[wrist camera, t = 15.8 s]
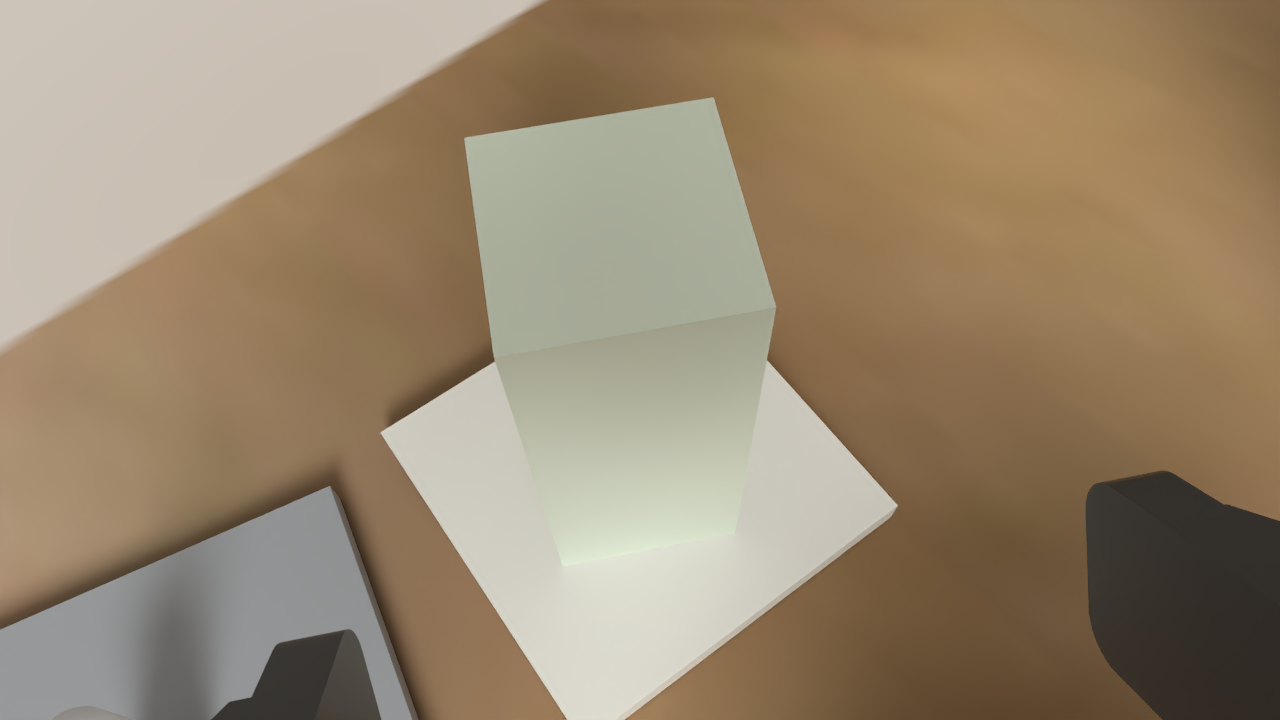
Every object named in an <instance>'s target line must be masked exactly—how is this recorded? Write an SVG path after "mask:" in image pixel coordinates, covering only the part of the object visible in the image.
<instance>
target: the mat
mask: <svg viewBox="0 0 1280 720" xmlns="http://www.w3.org/2000/svg"><path fill="white" fill-rule="evenodd" d="M380 433H381V435H382V436H383V438H384V439H385V441H386V442H387V444H388V446H389V447H390V449H391V450H392V452H393V453H394V455H395V456H396V458H397V459H398V461H399V462H400V464H401V466H402V467H403V469H404V470H405V472H406V473H407V475H408V476H409V478H410V479H411V481H412V482H413V484H414V485H415V487H416V489H417V490H418V492H419V493H420V495H421V496H422V498H423V499H424V501H425V502H426V504H427V505H428V507H429V509H430V510H431V512H432V513H433V515H434V516H435V518H436V519H437V521H438V522H439V524H440V525H441V527H442V528H443V530H444V532H445V533H446V535H447V536H448V538H449V539H450V541H451V542H452V544H453V545H454V547H455V548H456V550H457V551H458V553H459V555H460V556H461V558H462V559H463V561H464V562H465V564H466V565H467V567H468V568H469V570H470V571H471V573H472V574H473V576H474V578H475V579H476V581H477V582H478V584H479V585H480V587H481V588H482V590H483V591H484V593H485V594H486V596H487V597H488V599H489V601H490V602H491V604H492V605H493V607H494V608H495V610H496V611H497V613H498V614H499V616H500V617H501V619H502V620H503V622H504V624H505V625H506V627H507V628H508V630H509V631H510V633H511V634H512V636H513V637H514V639H515V640H516V642H517V643H518V645H519V647H520V648H521V650H522V651H523V653H524V654H525V656H526V657H527V659H528V660H529V662H530V663H531V665H532V667H533V668H534V670H535V671H536V673H537V674H538V676H539V677H540V679H541V680H542V682H543V683H544V685H545V686H546V688H547V690H548V691H549V693H550V694H551V696H552V697H553V699H554V700H555V702H556V703H557V705H558V706H559V708H560V709H561V711H562V713H563V714H564V716H565V717H566V719H567V720H625V719H626V718H627V717H629V716H630V715H631V714H633V713H634V712H635V711H637V710H638V709H639V708H640V707H642V706H643V705H644V704H646V703H647V702H648V701H650V700H651V699H652V698H654V697H655V696H656V695H658V694H659V693H660V692H662V691H663V690H664V689H665V688H667V687H668V686H669V685H671V684H672V683H673V682H675V681H676V680H677V679H679V678H680V677H681V676H683V675H684V674H685V673H687V672H688V671H689V670H690V669H692V668H693V667H694V666H696V665H697V664H698V663H700V662H701V661H702V660H704V659H705V658H706V657H708V656H709V655H710V654H712V653H713V652H714V651H715V650H717V649H718V648H719V647H721V646H722V645H723V644H725V643H726V642H727V641H729V640H730V639H731V638H733V637H734V636H735V635H737V634H738V633H739V632H740V631H742V630H743V629H744V628H746V627H747V626H748V625H750V624H751V623H752V622H754V621H755V620H756V619H758V618H759V617H760V616H762V615H763V614H764V613H765V612H767V611H768V610H769V609H771V608H772V607H773V606H775V605H776V604H777V603H779V602H780V601H781V600H783V599H784V598H785V597H786V596H788V595H789V594H790V593H792V592H793V591H794V590H796V589H797V588H798V587H800V586H801V585H802V584H804V583H805V582H806V581H808V580H809V579H810V578H811V577H813V576H814V575H815V574H817V573H818V572H819V571H821V570H822V569H823V568H825V567H826V566H827V565H829V564H830V563H831V562H833V561H834V560H835V559H836V558H838V557H839V556H840V555H842V554H843V553H844V552H846V551H847V550H848V549H850V548H851V547H852V546H854V545H855V544H856V543H858V542H859V541H860V540H861V539H863V538H864V537H865V536H867V535H868V534H869V533H871V532H872V531H873V530H875V529H876V528H877V527H879V526H880V525H881V524H883V523H884V522H885V521H886V520H888V519H889V518H890V517H891V516H892V515H893V513H894V511H895V509H896V508H897V506H898V505H897V504H896V503H895V502H894V501H893V500H892V499H891V497H890V496H889V495H888V494H887V493H886V492H885V491H884V490H883V488H882V487H881V486H880V485H879V484H878V483H877V482H876V481H875V480H874V478H873V477H872V476H871V475H870V474H869V473H868V472H867V471H866V470H865V468H864V467H863V466H862V465H861V464H860V463H859V462H858V461H857V460H856V458H855V457H854V456H853V455H852V454H851V453H850V452H849V451H848V450H847V448H846V447H845V446H844V445H843V444H842V443H841V442H840V441H839V440H838V438H837V437H836V436H835V435H834V434H833V433H832V432H831V431H830V430H829V428H828V427H827V426H826V425H825V424H824V423H823V422H822V421H821V420H820V418H819V417H818V416H817V415H816V414H815V413H814V412H813V411H812V410H811V408H810V407H809V406H808V405H807V404H806V403H805V402H804V401H803V400H802V398H801V397H800V396H799V395H798V394H797V393H796V392H795V391H794V390H793V388H792V387H791V386H790V385H789V384H788V383H787V382H786V381H785V380H784V378H783V377H782V376H781V375H780V374H779V373H778V372H777V371H776V370H775V368H774V367H773V366H772V365H771V364H770V363H769V362H768V361H767V362H766V367H765V373H764V378H763V384H762V389H761V395H760V400H759V406H758V411H757V417H756V422H755V428H754V433H753V439H752V444H751V450H750V455H749V461H748V466H747V471H746V477H745V482H744V488H743V493H742V499H741V504H740V510H739V515H738V521H737V526H736V532H735V533H733V534H728V535H723V536H717V537H712V538H707V539H702V540H697V541H691V542H686V543H681V544H676V545H671V546H665V547H660V548H655V549H650V550H645V551H639V552H634V553H629V554H624V555H619V556H613V557H608V558H603V559H598V560H593V561H587V562H582V563H577V564H572V565H567V566H562V563H561V559H560V556H559V553H558V550H557V547H556V544H555V541H554V538H553V535H552V532H551V529H550V526H549V523H548V520H547V517H546V514H545V511H544V508H543V505H542V502H541V499H540V496H539V493H538V490H537V487H536V484H535V481H534V478H533V475H532V472H531V469H530V466H529V463H528V460H527V457H526V453H525V450H524V447H523V444H522V441H521V438H520V435H519V432H518V429H517V426H516V423H515V420H514V417H513V414H512V411H511V408H510V405H509V402H508V399H507V396H506V393H505V390H504V387H503V384H502V381H501V378H500V375H499V372H498V369H497V366H496V363H495V362H493V363H492V364H490V365H488V366H487V367H485V368H483V369H482V370H480V371H479V372H477V373H475V374H474V375H472V376H471V377H469V378H467V379H466V380H464V381H463V382H461V383H459V384H458V385H456V386H454V387H453V388H451V389H450V390H448V391H446V392H445V393H443V394H442V395H440V396H438V397H437V398H435V399H433V400H432V401H430V402H429V403H427V404H425V405H424V406H422V407H421V408H419V409H417V410H416V411H414V412H412V413H411V414H409V415H408V416H406V417H404V418H403V419H401V420H400V421H398V422H396V423H395V424H393V425H391V426H390V427H388V428H387V429H385V430H383V431H382V432H380Z"/></svg>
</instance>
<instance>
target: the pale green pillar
mask: <svg viewBox="0 0 1280 720" xmlns="http://www.w3.org/2000/svg"><path fill="white" fill-rule="evenodd" d="M464 140H465V148H466V155H467V162H468V170H469V177H470V185H471V192H472V199H473V207H474V214H475V222H476V229H477V237H478V244H479V251H480V259H481V266H482V274H483V281H484V288H485V296H486V303H487V311H488V318H489V326H490V333H491V340H492V348H493V355H494V360H495V363H496V366H497V369H498V372H499V375H500V378H501V381H502V384H503V387H504V390H505V393H506V396H507V399H508V402H509V405H510V408H511V411H512V414H513V417H514V420H515V423H516V426H517V429H518V432H519V435H520V438H521V441H522V444H523V447H524V450H525V453H526V457H527V460H528V463H529V466H530V469H531V472H532V475H533V478H534V481H535V484H536V487H537V490H538V493H539V496H540V499H541V502H542V505H543V508H544V511H545V514H546V517H547V520H548V523H549V526H550V529H551V532H552V535H553V538H554V541H555V544H556V547H557V550H558V553H559V556H560V559H561V563H562V566H567V565H572V564H577V563H582V562H587V561H593V560H598V559H603V558H608V557H613V556H619V555H624V554H629V553H634V552H639V551H645V550H650V549H655V548H660V547H665V546H671V545H676V544H681V543H686V542H691V541H697V540H702V539H707V538H712V537H717V536H723V535H728V534H733V533H735V532H736V526H737V521H738V515H739V510H740V504H741V499H742V493H743V488H744V482H745V477H746V471H747V466H748V461H749V455H750V450H751V444H752V439H753V433H754V428H755V422H756V417H757V411H758V406H759V400H760V395H761V389H762V384H763V378H764V373H765V367H766V362H767V356H768V351H769V345H770V340H771V334H772V329H773V323H774V318H775V312H776V304H775V301H774V298H773V294H772V291H771V288H770V284H769V281H768V278H767V274H766V271H765V268H764V264H763V261H762V258H761V254H760V251H759V248H758V244H757V241H756V238H755V234H754V231H753V228H752V224H751V221H750V218H749V214H748V211H747V208H746V204H745V201H744V198H743V194H742V191H741V188H740V184H739V181H738V178H737V174H736V171H735V168H734V164H733V161H732V157H731V154H730V151H729V147H728V144H727V141H726V137H725V134H724V131H723V127H722V124H721V121H720V117H719V114H718V111H717V107H716V104H715V101H714V97H712V98H706V99H700V100H694V101H688V102H681V103H675V104H669V105H663V106H657V107H651V108H644V109H638V110H632V111H626V112H620V113H614V114H608V115H601V116H595V117H589V118H583V119H577V120H571V121H564V122H558V123H552V124H546V125H540V126H534V127H528V128H521V129H515V130H509V131H503V132H497V133H491V134H485V135H478V136H472V137H466V138H464Z"/></svg>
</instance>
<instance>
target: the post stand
mask: <svg viewBox="0 0 1280 720" xmlns="http://www.w3.org/2000/svg"><path fill="white" fill-rule="evenodd" d="M346 629H351V630H352V631H353V632H354V633H355V634H356V636H357V638H358V640H359V642H360V645H361V648H362V651H363V655H364V658H365V662H366V665H367V669H368V673H369V676H370V680H371V684H372V687H373V691H374V694H375V698H376V702H377V705H378V709H379V713H380V716H381V720H419V719H418V716H417V713H416V711H415V708H414V705H413V702H412V699H411V697H410V694H409V691H408V688H407V685H406V683H405V680H404V677H403V674H402V671H401V669H400V666H399V663H398V660H397V657H396V654H395V652H394V649H393V646H392V643H391V640H390V638H389V635H388V632H387V629H386V626H385V624H384V621H383V618H382V615H381V612H380V610H379V607H378V604H377V601H376V598H375V596H374V593H373V590H372V587H371V584H370V581H369V579H368V576H367V573H366V570H365V567H364V565H363V562H362V559H361V556H360V553H359V551H358V548H357V545H356V542H355V539H354V537H353V534H352V531H351V528H350V525H349V523H348V520H347V517H346V514H345V511H344V508H343V506H342V503H341V500H340V497H339V496H338V495H337V494H336V493H335V492H334V490H333V489H332V488H331V487H330V486H328V487H326V488H324V489H321V490H319V491H317V492H314V493H312V494H310V495H308V496H305V497H303V498H301V499H298V500H296V501H294V502H292V503H289V504H287V505H285V506H282V507H280V508H278V509H275V510H273V511H271V512H269V513H266V514H264V515H262V516H259V517H257V518H255V519H253V520H250V521H248V522H246V523H243V524H241V525H239V526H237V527H234V528H232V529H230V530H227V531H225V532H223V533H221V534H218V535H216V536H214V537H211V538H209V539H207V540H204V541H202V542H200V543H198V544H195V545H193V546H191V547H188V548H186V549H184V550H182V551H179V552H177V553H175V554H172V555H170V556H168V557H166V558H163V559H161V560H159V561H156V562H154V563H152V564H149V565H147V566H145V567H143V568H140V569H138V570H136V571H133V572H131V573H129V574H127V575H124V576H122V577H120V578H117V579H115V580H113V581H111V582H108V583H106V584H104V585H101V586H99V587H97V588H95V589H92V590H90V591H88V592H85V593H83V594H81V595H78V596H76V597H74V598H72V599H69V600H67V601H65V602H62V603H60V604H58V605H56V606H53V607H51V608H49V609H46V610H44V611H42V612H40V613H37V614H35V615H33V616H30V617H28V618H26V619H23V620H21V621H19V622H17V623H14V624H12V625H10V626H7V627H5V628H3V629H1V630H0V720H211V719H212V718H213V717H214V716H215V715H216V714H217V713H218V712H219V711H220V710H221V709H222V708H223V707H224V706H225V705H226V704H227V703H228V702H230V701H235V700H240V699H245V698H250V697H252V695H253V693H254V690H255V688H256V686H257V684H258V682H259V679H260V677H261V675H262V673H263V671H264V668H265V666H266V664H267V662H268V660H269V657H270V655H271V653H272V651H273V649H274V647H275V646H276V645H277V644H278V643H280V642H285V641H290V640H295V639H300V638H305V637H310V636H315V635H321V634H326V633H331V632H336V631H341V630H346Z"/></svg>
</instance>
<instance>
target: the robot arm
mask: <svg viewBox="0 0 1280 720" xmlns="http://www.w3.org/2000/svg"><path fill="white" fill-rule="evenodd" d="M1086 533H1087V564H1088V595H1089V615H1090V621H1091V625H1092V629H1093V632H1094V635H1095V638H1096V641H1097V643H1098V646H1099V648H1100V650H1101V652H1102V654H1103V655H1104V657H1105V659H1106V660H1107V662H1108V663H1109V665H1110V666H1111V667H1112V668H1113V670H1114V671H1115V672H1116V673H1117V674H1118V675H1119V676H1120V677H1121V678H1122V679H1123V680H1124V681H1125V682H1126V683H1127V684H1128V685H1129V686H1130V687H1131V688H1132V689H1133V690H1134V691H1135V692H1136V693H1137V694H1138V695H1139V696H1140V697H1141V698H1142V699H1143V700H1144V701H1145V702H1146V703H1147V704H1148V705H1149V706H1150V707H1151V708H1152V709H1153V710H1154V711H1155V712H1156V713H1157V714H1158V715H1159V716H1160V717H1161V718H1162V719H1163V720H1280V521H1277V520H1274V519H1271V518H1268V517H1265V516H1261V515H1258V514H1255V513H1252V512H1249V511H1246V510H1243V509H1239V508H1236V507H1233V506H1230V505H1227V504H1226V505H1223V504H1222V503H1220V502H1219V501H1217V500H1215V499H1214V498H1212V497H1210V496H1209V495H1207V494H1205V493H1204V492H1202V491H1201V490H1199V489H1197V488H1196V487H1194V486H1192V485H1191V484H1189V483H1187V482H1186V481H1184V480H1183V479H1181V478H1179V477H1178V476H1176V475H1174V474H1172V473H1170V472H1167V471H1157V472H1152V473H1147V474H1142V475H1137V476H1132V477H1127V478H1122V479H1117V480H1112V481H1106V482H1101V483H1097V484H1095V485H1093V486H1092V487H1091V489H1090V490H1089V492H1088V495H1087V500H1086ZM211 720H381V716H380V713H379V709H378V705H377V702H376V698H375V694H374V691H373V687H372V684H371V680H370V676H369V673H368V669H367V665H366V662H365V658H364V655H363V651H362V648H361V645H360V642H359V640H358V638H357V636H356V634H355V633H354V632H353V631H352V630H351V629H346V630H341V631H336V632H331V633H326V634H321V635H315V636H310V637H305V638H300V639H295V640H290V641H285V642H280V643H278V644H277V645H276V646H275V647H274V649H273V651H272V653H271V655H270V657H269V660H268V662H267V664H266V666H265V668H264V671H263V673H262V675H261V677H260V679H259V682H258V684H257V686H256V688H255V690H254V693H253V695H252V697H250V698H245V699H240V700H235V701H230V702H228V703H227V704H226V705H225V706H224V707H223V708H222V709H221V710H220V711H219V712H218V713H217V714H216V715H215V716H214V717H213V718H212V719H211Z"/></svg>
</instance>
